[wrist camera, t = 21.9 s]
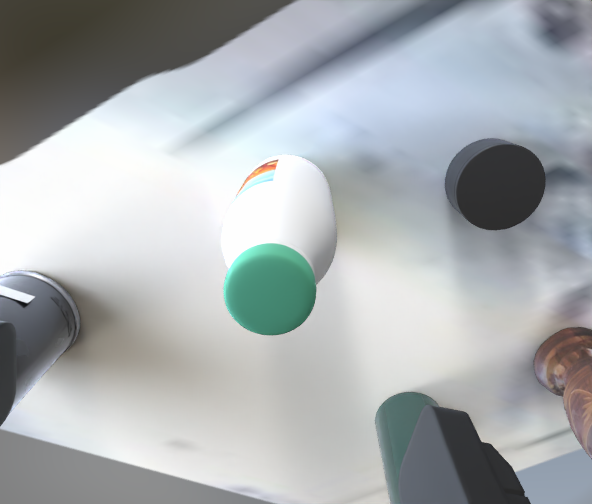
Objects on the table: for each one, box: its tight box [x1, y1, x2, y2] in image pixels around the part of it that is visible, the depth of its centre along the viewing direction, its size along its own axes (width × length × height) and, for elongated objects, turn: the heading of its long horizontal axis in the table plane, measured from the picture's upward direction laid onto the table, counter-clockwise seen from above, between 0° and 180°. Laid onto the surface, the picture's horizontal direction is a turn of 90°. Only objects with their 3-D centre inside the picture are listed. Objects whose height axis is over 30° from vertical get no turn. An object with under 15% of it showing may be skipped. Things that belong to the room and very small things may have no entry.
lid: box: [445, 139, 546, 230], centre depth 39 cm, size 7×7×3 cm
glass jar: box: [375, 392, 439, 504], centre depth 42 cm, size 7×7×16 cm
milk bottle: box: [222, 155, 337, 335], centre depth 32 cm, size 8×8×20 cm
